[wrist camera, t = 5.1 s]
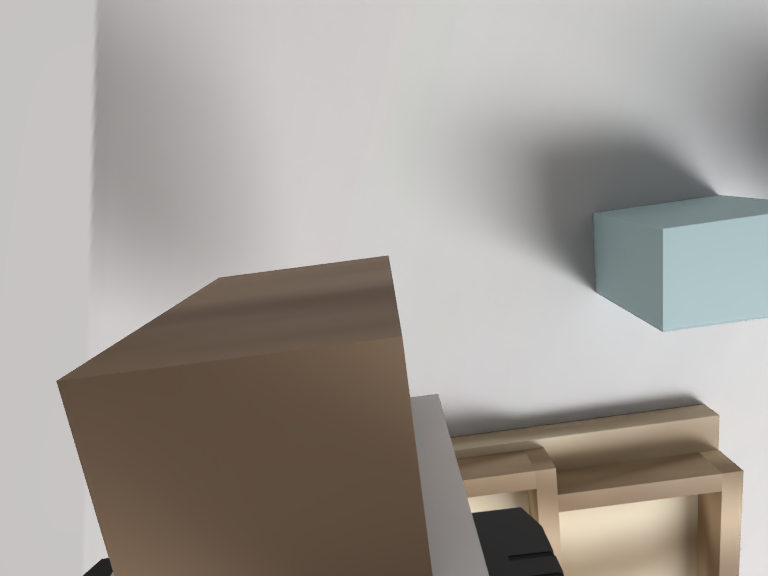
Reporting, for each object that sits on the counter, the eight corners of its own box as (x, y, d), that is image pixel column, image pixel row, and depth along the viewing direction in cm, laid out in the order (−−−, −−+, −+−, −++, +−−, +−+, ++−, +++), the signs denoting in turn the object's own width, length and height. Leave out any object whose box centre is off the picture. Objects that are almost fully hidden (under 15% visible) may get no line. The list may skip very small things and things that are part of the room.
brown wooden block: (218, 277, 11) (56, 381, 6) (388, 255, 11) (402, 337, 6) (291, 626, 14) (229, 961, 8) (434, 609, 14) (478, 933, 8)
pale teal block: (592, 212, 24) (663, 228, 18) (718, 194, 23) (830, 205, 18) (595, 292, 25) (663, 332, 19) (715, 275, 24) (820, 310, 19)
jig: (333, 453, 27) (328, 488, 24) (704, 404, 26) (745, 434, 23) (373, 666, 30) (373, 719, 27) (699, 626, 30) (734, 676, 27)
